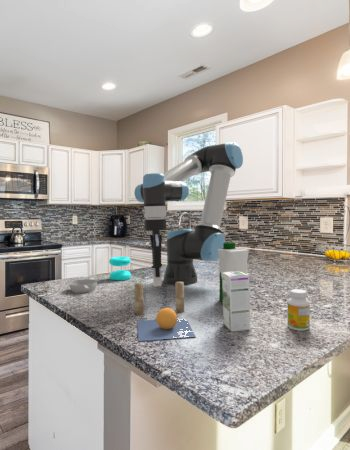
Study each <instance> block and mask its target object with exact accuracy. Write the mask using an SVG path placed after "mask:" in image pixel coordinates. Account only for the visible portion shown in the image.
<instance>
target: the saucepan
mask: <svg viewBox="0 0 350 450" xmlns="http://www.w3.org/2000/svg"><path fill="white" fill-rule="evenodd" d="M68 285H69V286H68V287H69V289H70V291H71V292H72V293H75V294H85V293H90V292H91V293H92V292H94V291H95V289H96V288H97V285H98V281H97V280H96V279H92V278H91V279H90V278H89V279H88V278H87V279H86V278H85V279H76V280H72V281H70V282H69V284H68Z"/></svg>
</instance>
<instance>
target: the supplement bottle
mask: <svg viewBox="0 0 350 450" xmlns="http://www.w3.org/2000/svg"><path fill="white" fill-rule="evenodd" d="M289 295H290V297H288V299H287V327H288V329H291V330H295V331H299V332H302V331H303V332H304V331H308V330H309V329H310V316H311V315H310V312H311V311H310V307H311V306H310V304H311V303H310V301H309V299H307V297H308V296H307V295H308V292H307V290H304V289H302V288H301V289H300V288H293V289H290V293H289Z"/></svg>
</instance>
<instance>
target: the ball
mask: <svg viewBox="0 0 350 450" xmlns="http://www.w3.org/2000/svg"><path fill="white" fill-rule="evenodd" d="M177 318H178V315H177V312H176V310H173V309H172V308H171V307H164V308H162V309H160V310H159V311H158V312H157V314H156V318H155V320H157V324H158V325H159V327H161V328H162V329H166V330H168V329H171V328H173V327H174V326H175V325H176V322H177Z"/></svg>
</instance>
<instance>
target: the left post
mask: <svg viewBox="0 0 350 450" xmlns="http://www.w3.org/2000/svg"><path fill="white" fill-rule="evenodd" d="M144 309H145V308H144V284H143V283H142V282H141V283H138V282H137V283H135V284H134V314H135V315H136V316H139V315H140V316H141V315H142V316H143V315H144V313H145V312H144Z"/></svg>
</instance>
